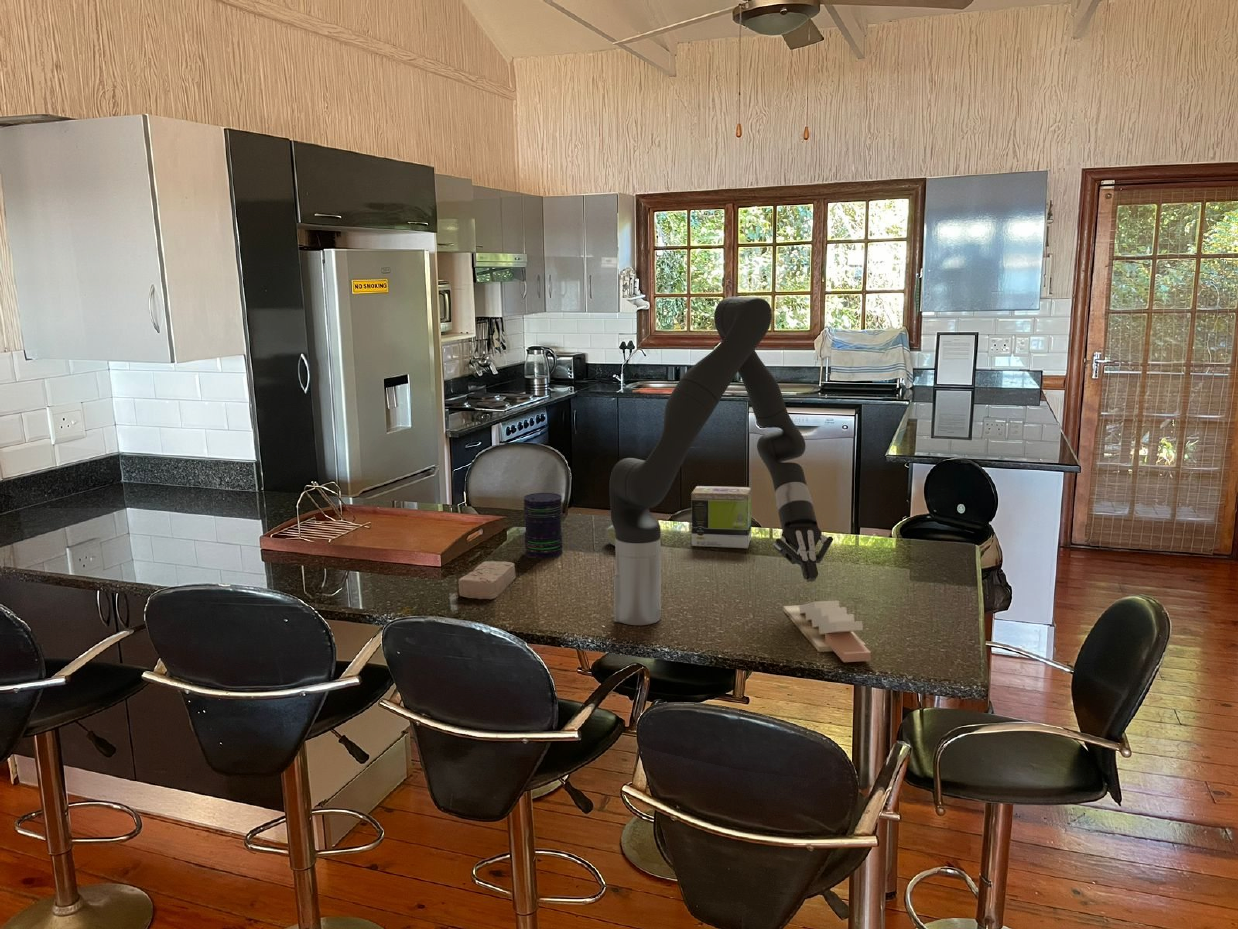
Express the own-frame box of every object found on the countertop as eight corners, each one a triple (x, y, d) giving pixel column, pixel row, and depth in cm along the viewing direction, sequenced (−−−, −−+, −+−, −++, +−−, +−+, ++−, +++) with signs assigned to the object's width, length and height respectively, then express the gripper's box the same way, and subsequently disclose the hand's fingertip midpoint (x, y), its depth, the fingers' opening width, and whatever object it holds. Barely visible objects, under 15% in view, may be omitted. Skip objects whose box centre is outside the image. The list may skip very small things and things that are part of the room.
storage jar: (551, 546, 248) (550, 491, 245) (570, 554, 240) (569, 497, 237) (518, 552, 242) (516, 496, 240) (536, 561, 234) (534, 503, 231)
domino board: (783, 610, 197) (783, 606, 197) (824, 608, 198) (824, 604, 198) (819, 652, 174) (819, 647, 174) (865, 649, 175) (865, 644, 175)
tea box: (751, 539, 252) (752, 486, 250) (747, 549, 243) (748, 494, 240) (696, 537, 256) (696, 484, 253) (690, 546, 246) (690, 491, 243)
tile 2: (805, 612, 188) (820, 608, 179) (829, 611, 189) (846, 607, 179) (806, 620, 188) (821, 616, 178) (830, 619, 188) (847, 615, 179)
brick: (483, 577, 222) (482, 558, 222) (517, 579, 221) (516, 560, 220) (457, 600, 207) (457, 579, 206) (494, 602, 205) (493, 582, 204)
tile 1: (799, 605, 192) (814, 601, 183) (822, 604, 193) (838, 600, 183) (799, 613, 192) (814, 609, 182) (823, 612, 192) (839, 608, 183)
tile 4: (818, 626, 180) (835, 622, 171) (843, 624, 181) (861, 620, 171) (819, 634, 180) (836, 631, 170) (844, 633, 181) (862, 629, 171)
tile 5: (825, 633, 176) (844, 653, 167) (850, 632, 177) (871, 652, 167) (825, 641, 177) (843, 662, 167) (850, 639, 177) (870, 660, 168)
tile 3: (811, 619, 184) (827, 615, 175) (835, 618, 185) (853, 613, 175) (812, 627, 184) (828, 623, 174) (836, 626, 185) (854, 622, 175)
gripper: (769, 499, 197) (784, 573, 187) (829, 497, 199) (848, 570, 189) (761, 518, 203) (776, 589, 194) (820, 516, 205) (838, 587, 195)
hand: (811, 580), depth 191 cm, fingers closed
